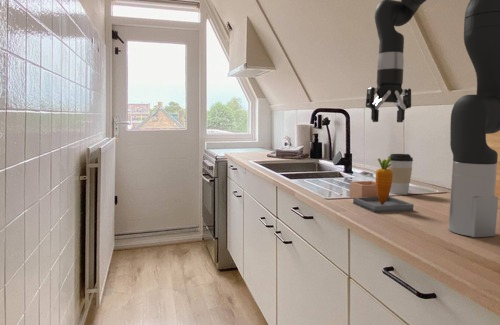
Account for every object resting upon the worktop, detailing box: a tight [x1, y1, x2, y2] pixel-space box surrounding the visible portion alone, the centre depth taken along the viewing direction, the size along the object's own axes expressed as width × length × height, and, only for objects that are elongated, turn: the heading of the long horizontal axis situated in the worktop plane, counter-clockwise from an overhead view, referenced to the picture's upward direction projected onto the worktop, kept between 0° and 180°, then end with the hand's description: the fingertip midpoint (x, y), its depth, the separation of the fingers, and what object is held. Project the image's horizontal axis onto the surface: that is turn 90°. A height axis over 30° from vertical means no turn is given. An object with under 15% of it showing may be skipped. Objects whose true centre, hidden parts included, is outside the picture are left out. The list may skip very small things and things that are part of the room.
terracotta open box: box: [348, 180, 378, 199], centre depth 134 cm, size 9×9×6 cm
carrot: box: [375, 157, 393, 205], centre depth 120 cm, size 5×5×15 cm
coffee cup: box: [387, 153, 414, 195], centre depth 145 cm, size 9×9×15 cm
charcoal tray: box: [352, 195, 414, 214], centre depth 121 cm, size 13×13×2 cm
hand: (387, 122), depth 119 cm, fingers open, 8 cm apart
